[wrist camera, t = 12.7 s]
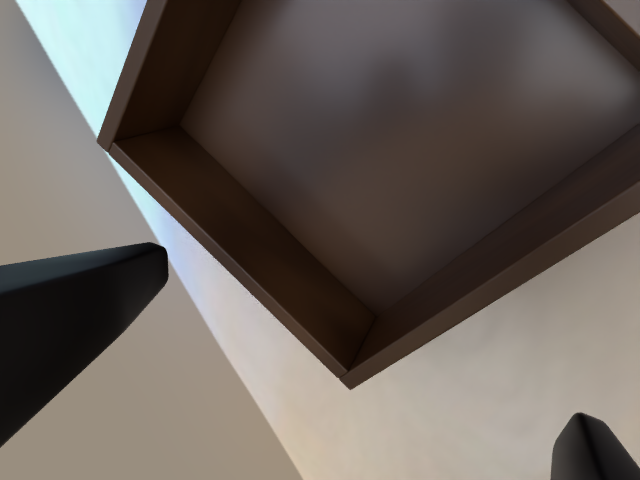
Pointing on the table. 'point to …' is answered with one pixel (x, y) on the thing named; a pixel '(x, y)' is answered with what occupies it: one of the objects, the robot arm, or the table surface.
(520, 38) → the open wooden box
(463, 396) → the table surface
